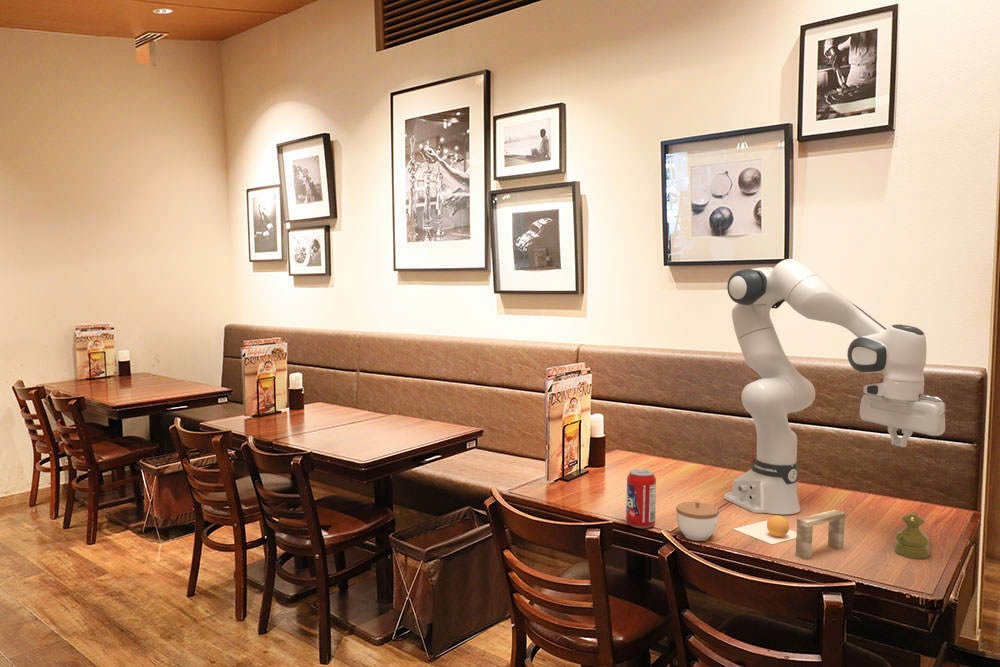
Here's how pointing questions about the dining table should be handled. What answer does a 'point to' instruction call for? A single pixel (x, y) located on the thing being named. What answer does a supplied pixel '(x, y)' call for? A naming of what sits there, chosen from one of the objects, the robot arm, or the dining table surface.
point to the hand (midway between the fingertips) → (898, 445)
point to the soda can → (641, 498)
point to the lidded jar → (697, 520)
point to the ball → (778, 526)
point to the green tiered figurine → (912, 538)
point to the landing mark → (764, 533)
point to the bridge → (806, 531)
